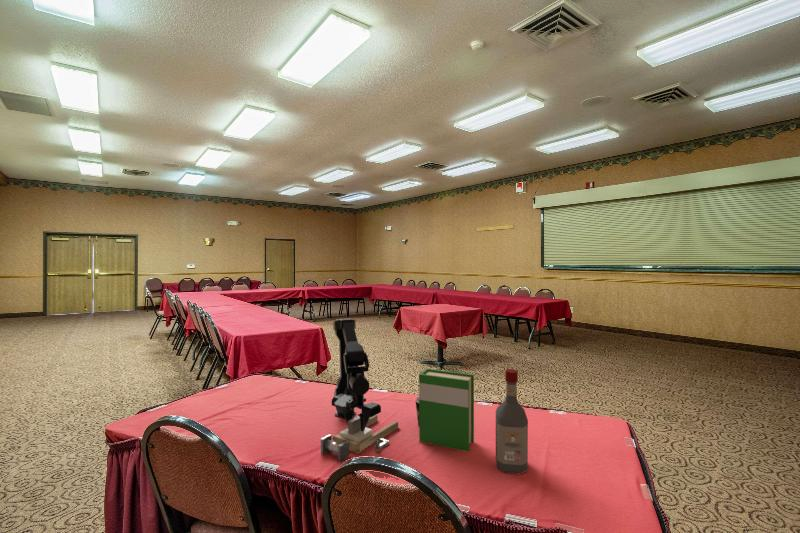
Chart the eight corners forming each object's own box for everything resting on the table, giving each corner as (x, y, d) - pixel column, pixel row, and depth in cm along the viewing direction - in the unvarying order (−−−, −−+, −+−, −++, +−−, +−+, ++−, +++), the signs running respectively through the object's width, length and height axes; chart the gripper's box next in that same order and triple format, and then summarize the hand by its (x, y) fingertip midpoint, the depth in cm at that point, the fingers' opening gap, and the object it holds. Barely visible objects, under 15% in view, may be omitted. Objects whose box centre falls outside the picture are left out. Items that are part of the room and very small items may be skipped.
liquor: (528, 475, 117) (529, 376, 116) (497, 472, 118) (497, 374, 117) (524, 459, 126) (524, 367, 125) (495, 456, 127) (495, 365, 126)
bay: (333, 444, 137) (332, 435, 137) (375, 420, 155) (375, 412, 155) (357, 453, 130) (357, 444, 130) (398, 427, 149) (398, 419, 149)
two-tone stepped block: (340, 443, 137) (339, 419, 137) (355, 434, 144) (355, 411, 143) (357, 450, 132) (356, 425, 132) (372, 440, 139) (372, 417, 139)
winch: (320, 453, 130) (320, 438, 130) (329, 448, 134) (329, 434, 133) (340, 461, 125) (340, 446, 125) (348, 456, 128) (348, 441, 128)
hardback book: (473, 441, 137) (473, 374, 136) (468, 451, 131) (468, 381, 130) (426, 432, 145) (426, 368, 144) (419, 441, 138) (419, 374, 137)
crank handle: (377, 451, 132) (377, 442, 132) (368, 447, 134) (368, 438, 134) (389, 444, 136) (389, 435, 136) (380, 440, 139) (380, 432, 139)
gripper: (319, 386, 136) (320, 430, 137) (360, 398, 125) (360, 445, 126) (342, 377, 145) (342, 419, 146) (381, 387, 134) (382, 432, 135)
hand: (356, 428), depth 138 cm, fingers open, 6 cm apart
